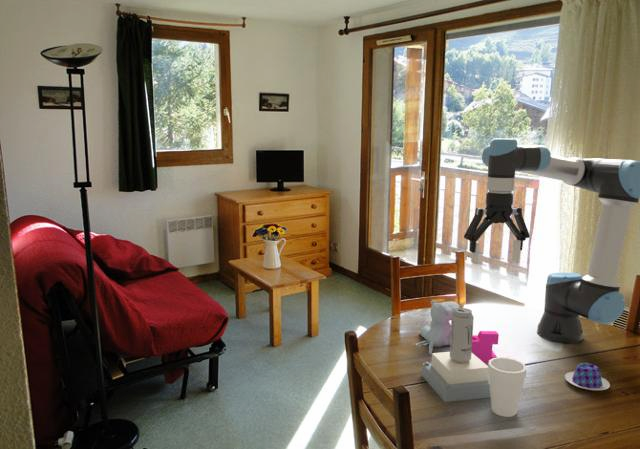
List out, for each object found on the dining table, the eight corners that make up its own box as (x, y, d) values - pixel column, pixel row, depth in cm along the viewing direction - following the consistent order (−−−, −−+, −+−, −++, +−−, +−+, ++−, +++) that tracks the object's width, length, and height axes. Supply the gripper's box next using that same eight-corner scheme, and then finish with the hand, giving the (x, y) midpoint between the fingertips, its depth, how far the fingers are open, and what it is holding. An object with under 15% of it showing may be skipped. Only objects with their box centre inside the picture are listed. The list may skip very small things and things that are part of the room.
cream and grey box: (470, 371, 161) (471, 346, 159) (497, 396, 145) (499, 369, 144) (421, 375, 158) (422, 351, 156) (444, 402, 142) (446, 374, 141)
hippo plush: (473, 344, 181) (475, 301, 178) (430, 355, 172) (431, 310, 169) (443, 330, 194) (444, 290, 191) (402, 339, 185) (403, 298, 182)
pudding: (592, 372, 161) (594, 357, 160) (619, 391, 149) (620, 374, 148) (556, 374, 160) (558, 358, 159) (580, 393, 148) (581, 376, 147)
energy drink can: (465, 366, 146) (468, 315, 143) (445, 360, 150) (448, 311, 147) (474, 359, 150) (477, 310, 148) (455, 353, 154) (457, 305, 152)
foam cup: (480, 402, 142) (483, 357, 140) (512, 400, 143) (515, 356, 141) (494, 420, 133) (497, 373, 131) (529, 419, 134) (533, 372, 132)
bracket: (496, 364, 166) (498, 334, 164) (464, 364, 166) (466, 333, 164) (485, 349, 178) (487, 320, 176) (455, 348, 178) (457, 320, 176)
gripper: (530, 189, 158) (525, 257, 162) (454, 190, 153) (451, 260, 157) (545, 192, 151) (539, 263, 155) (467, 193, 146) (462, 266, 150)
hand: (495, 261), depth 156 cm, fingers open, 13 cm apart
